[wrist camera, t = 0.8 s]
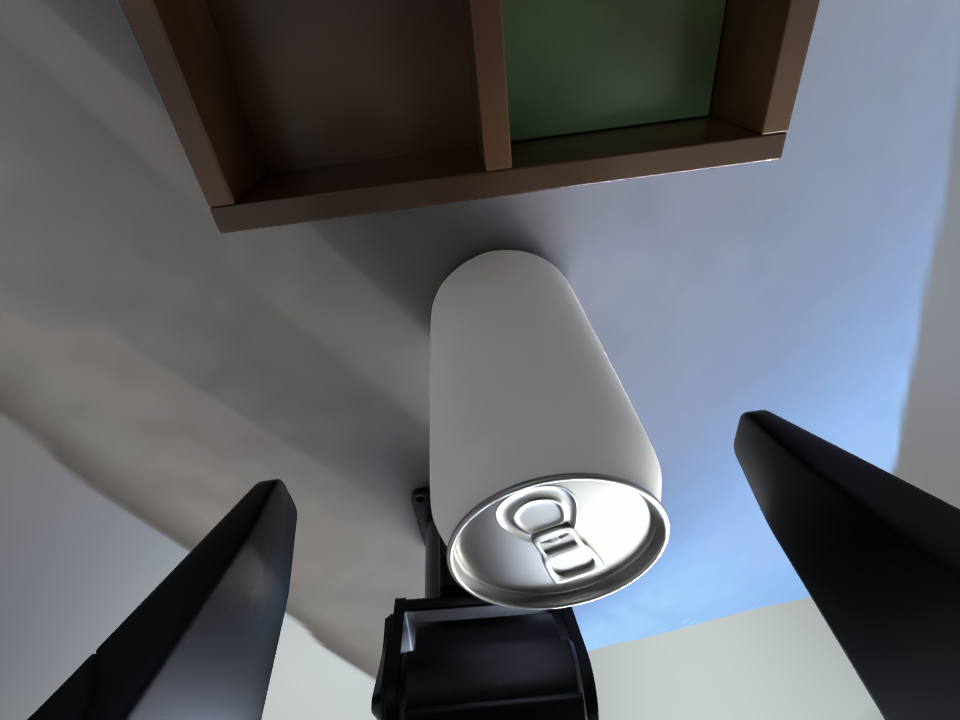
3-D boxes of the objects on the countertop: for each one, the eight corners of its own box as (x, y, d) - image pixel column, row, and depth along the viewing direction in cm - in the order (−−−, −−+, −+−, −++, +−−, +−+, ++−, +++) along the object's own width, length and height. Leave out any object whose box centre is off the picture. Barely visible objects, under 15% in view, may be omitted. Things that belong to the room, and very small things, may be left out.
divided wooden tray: (718, 134, 18) (781, 159, 15) (258, 194, 18) (219, 234, 15) (781, -236, 13) (900, -323, 10) (128, -152, 13) (25, -210, 9)
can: (541, 218, 19) (651, 421, 10) (591, 336, 23) (709, 572, 13) (402, 287, 21) (376, 528, 11) (471, 389, 24) (496, 640, 14)
